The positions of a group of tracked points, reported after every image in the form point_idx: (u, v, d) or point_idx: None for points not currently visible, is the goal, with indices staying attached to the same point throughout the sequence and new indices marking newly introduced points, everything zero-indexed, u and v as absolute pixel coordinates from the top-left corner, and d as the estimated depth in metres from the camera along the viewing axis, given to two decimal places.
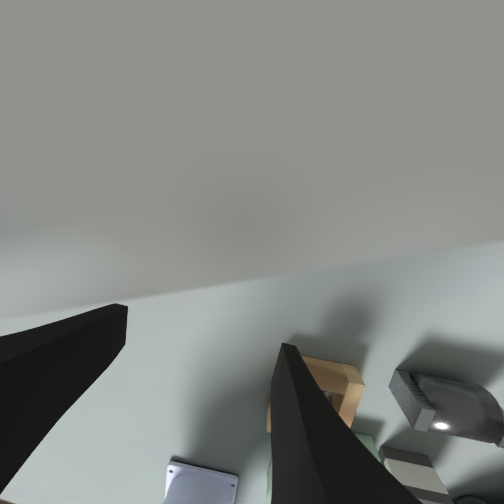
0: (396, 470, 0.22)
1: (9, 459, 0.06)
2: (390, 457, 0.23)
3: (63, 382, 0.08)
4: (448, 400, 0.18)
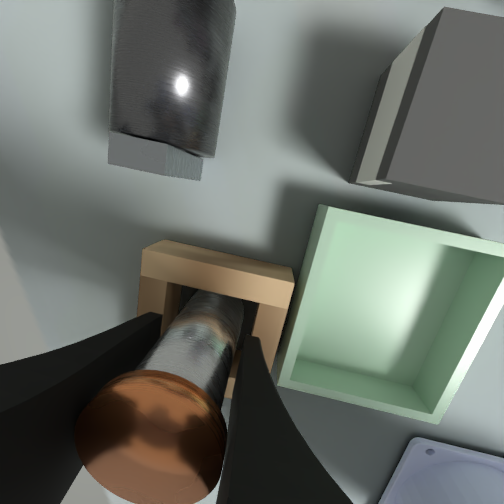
0: (368, 166, 0.09)
1: (65, 474, 0.06)
2: (358, 169, 0.10)
3: None
4: (110, 96, 0.08)
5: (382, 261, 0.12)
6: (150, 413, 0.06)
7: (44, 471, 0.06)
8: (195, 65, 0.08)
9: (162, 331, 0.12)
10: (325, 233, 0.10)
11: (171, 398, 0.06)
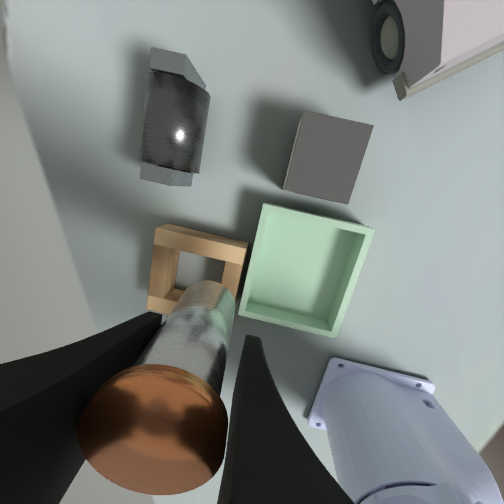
0: (285, 181, 0.16)
1: (64, 474, 0.06)
2: (284, 182, 0.17)
3: None
4: (141, 142, 0.15)
5: (302, 237, 0.19)
6: (155, 404, 0.06)
7: (43, 471, 0.06)
8: (186, 129, 0.15)
9: (166, 280, 0.19)
10: (262, 219, 0.17)
11: (176, 389, 0.06)
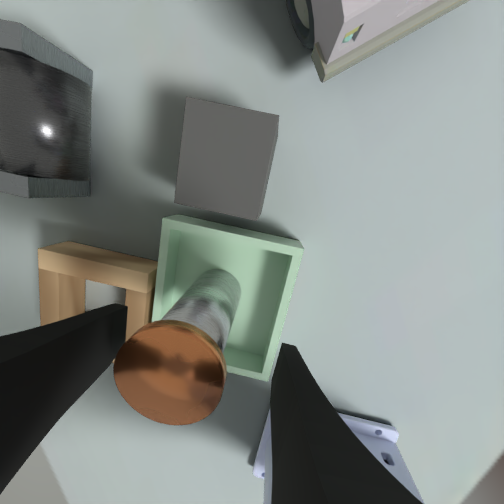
0: None
1: (9, 459, 0.06)
2: None
3: (63, 382, 0.08)
4: None
5: (225, 257, 0.15)
6: (171, 347, 0.08)
7: None
8: (45, 124, 0.11)
9: (61, 311, 0.16)
10: (163, 237, 0.13)
11: (187, 337, 0.08)
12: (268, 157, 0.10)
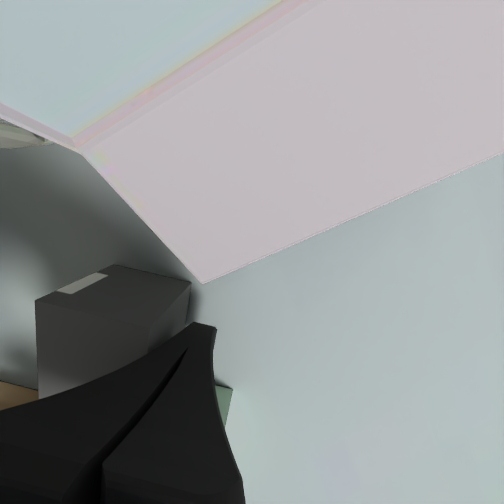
0: None
1: None
2: None
3: None
4: None
5: None
6: None
7: None
8: None
9: None
10: None
11: None
12: None
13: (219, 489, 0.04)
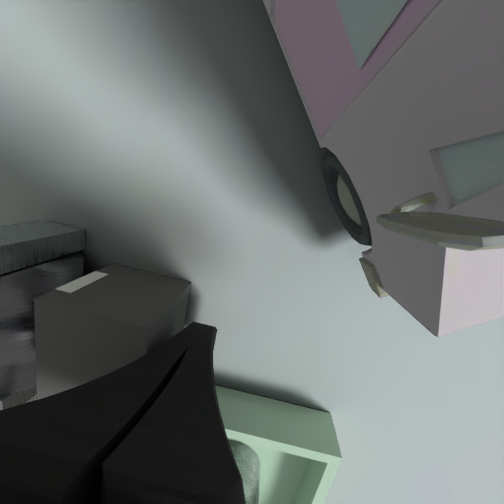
0: None
1: None
2: None
3: None
4: None
5: None
6: None
7: None
8: (23, 338, 0.09)
9: None
10: None
11: None
12: None
13: (219, 489, 0.04)
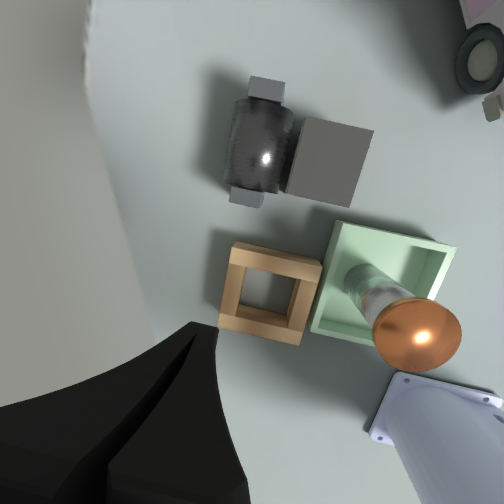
0: (287, 185, 0.17)
1: None
2: (286, 186, 0.18)
3: None
4: (228, 166, 0.16)
5: (374, 254, 0.19)
6: (429, 314, 0.12)
7: None
8: (277, 153, 0.15)
9: (238, 298, 0.19)
10: (341, 238, 0.17)
11: (441, 307, 0.12)
12: (363, 160, 0.14)
13: (225, 490, 0.04)
